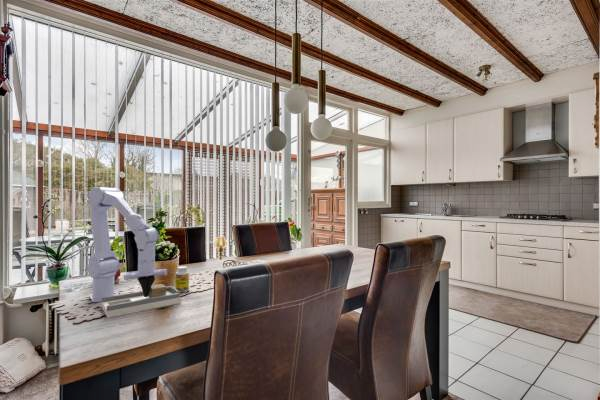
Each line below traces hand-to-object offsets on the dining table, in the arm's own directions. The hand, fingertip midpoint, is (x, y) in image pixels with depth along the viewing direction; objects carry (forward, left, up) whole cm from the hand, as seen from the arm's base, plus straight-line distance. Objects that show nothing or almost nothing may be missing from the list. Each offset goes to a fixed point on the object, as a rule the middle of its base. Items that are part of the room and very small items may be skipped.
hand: (145, 296), depth 115 cm
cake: (-42, -6, -3) cm, 43 cm away
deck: (0, -1, -3) cm, 3 cm away
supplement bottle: (-9, +17, -3) cm, 19 cm away
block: (0, +4, -1) cm, 4 cm away
